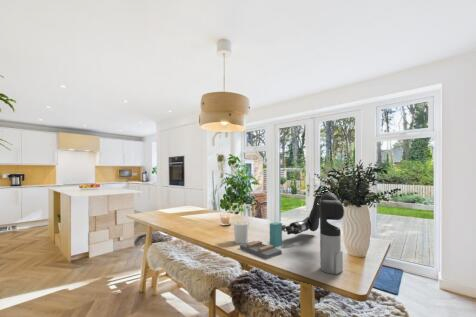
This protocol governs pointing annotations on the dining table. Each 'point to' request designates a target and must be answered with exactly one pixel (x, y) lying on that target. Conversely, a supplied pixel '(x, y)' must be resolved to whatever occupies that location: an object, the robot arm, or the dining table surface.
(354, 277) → the dining table surface
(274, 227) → the long teal prism
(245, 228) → the candle holder
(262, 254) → the display stand
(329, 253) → the robot arm
